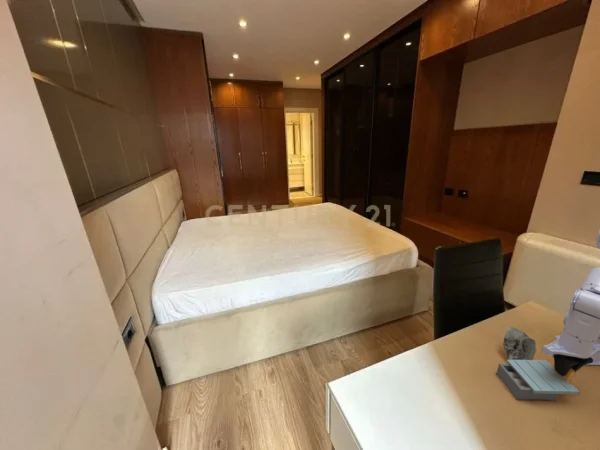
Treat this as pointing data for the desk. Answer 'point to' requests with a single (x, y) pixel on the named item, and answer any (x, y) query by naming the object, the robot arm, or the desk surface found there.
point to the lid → (543, 377)
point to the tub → (520, 385)
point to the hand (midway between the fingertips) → (562, 372)
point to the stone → (518, 345)
